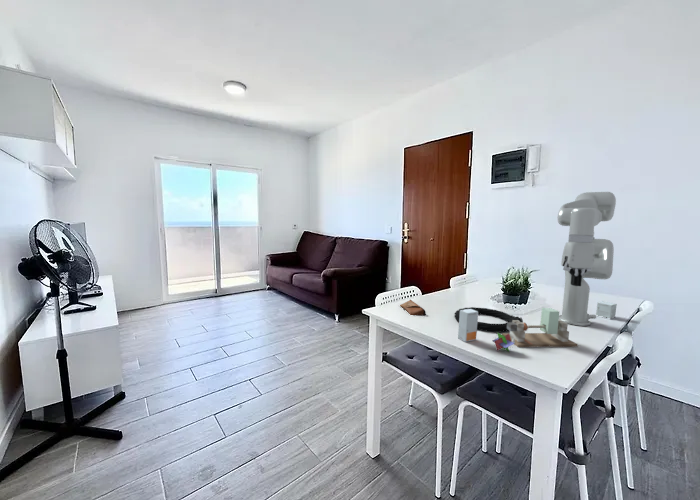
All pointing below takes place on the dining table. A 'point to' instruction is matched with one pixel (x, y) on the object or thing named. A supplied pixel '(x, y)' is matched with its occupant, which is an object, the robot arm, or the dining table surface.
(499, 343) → the geometric puzzle
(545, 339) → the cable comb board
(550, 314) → the sleeve
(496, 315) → the cable lock
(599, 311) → the skincare box
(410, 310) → the sunglasses case
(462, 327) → the skincare box
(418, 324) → the dining table surface
